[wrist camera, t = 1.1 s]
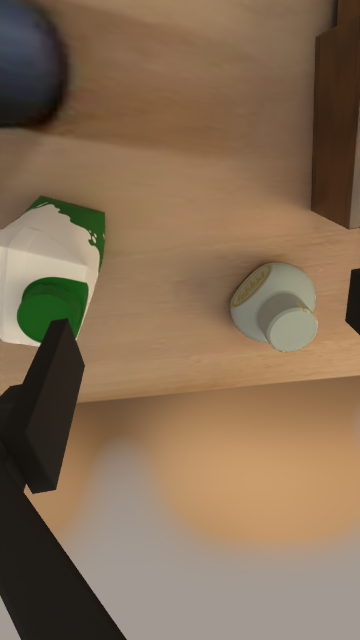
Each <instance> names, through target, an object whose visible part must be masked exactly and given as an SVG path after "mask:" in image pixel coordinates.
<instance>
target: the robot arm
mask: <svg viewBox="0 0 360 640" xmlns="http://www.w3.org/2000/svg"><path fill="white" fill-rule="evenodd" d="M345 321H346V322H347V323H348V324H349V325H350V326H351V327H352V328H353V329H354V330H355V331H356V332H357V333H358V334H359V335H360V268H359V269H353V270H351V278H350V287H349V295H348V303H347V311H346V319H345ZM84 367H85V365H84V362H83V359H82V356H81V353H80V351H79V348H78V345H77V342H76V339H75V336H74V334H73V331H72V328H71V325H70V322H69V319H68V318H64V319H58V320H53V321H51V322H50V324H49V327H48V329H47V331H46V333H45V335H44V337H43V340H42V342H41V344H40V346H39V348H38V351H37V353H36V355H35V357H34V359H33V362H32V364H31V366H30V368H29V370H28V372H27V375H26V377H25V379H24V381H23V383H22V384H20V385H14V386H10V387H9V388H8V389H7V390H6V391H5V392H4V393H3V394H2V395H1V396H0V596H1V598H2V600H3V602H4V604H5V606H6V609H7V611H8V613H9V615H10V617H11V619H12V621H13V623H14V626H15V628H16V630H17V632H18V634H19V636H20V638H21V640H127V639H126V638H125V637H124V635H123V634H122V632H121V631H120V630H119V628H118V627H117V625H116V624H115V622H114V621H113V619H112V618H111V617H110V615H109V614H108V612H107V611H106V609H105V608H104V606H103V605H102V604H101V602H100V601H99V600H98V598H97V596H96V595H95V594H94V592H93V591H92V589H91V588H90V587H89V585H88V584H87V582H86V581H85V579H84V578H83V576H82V575H81V574H80V572H79V571H78V569H77V568H76V566H75V565H74V564H73V562H72V561H71V559H70V558H69V556H68V555H67V554H66V552H65V551H64V549H63V548H62V546H61V545H60V544H59V542H58V541H57V539H56V538H55V536H54V535H53V534H52V532H51V531H50V529H49V528H48V526H47V525H46V524H45V522H44V521H43V519H42V518H41V516H40V515H39V514H38V512H37V511H36V509H35V508H34V506H33V505H32V504H31V502H30V501H29V499H28V498H27V496H26V495H25V494H24V488H25V485H26V484H27V485H28V487H29V488H30V490H31V492H32V494H35V493H40V492H47V491H52V490H56V487H57V483H58V478H59V474H60V470H61V466H62V462H63V457H64V453H65V449H66V444H67V440H68V436H69V431H70V427H71V423H72V418H73V414H74V409H75V406H76V402H77V397H78V393H79V389H80V384H81V380H82V376H83V372H84Z"/></svg>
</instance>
